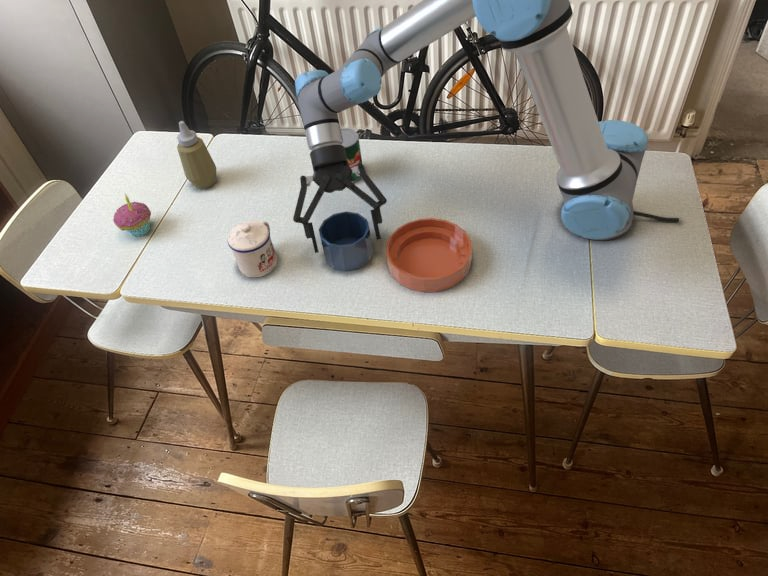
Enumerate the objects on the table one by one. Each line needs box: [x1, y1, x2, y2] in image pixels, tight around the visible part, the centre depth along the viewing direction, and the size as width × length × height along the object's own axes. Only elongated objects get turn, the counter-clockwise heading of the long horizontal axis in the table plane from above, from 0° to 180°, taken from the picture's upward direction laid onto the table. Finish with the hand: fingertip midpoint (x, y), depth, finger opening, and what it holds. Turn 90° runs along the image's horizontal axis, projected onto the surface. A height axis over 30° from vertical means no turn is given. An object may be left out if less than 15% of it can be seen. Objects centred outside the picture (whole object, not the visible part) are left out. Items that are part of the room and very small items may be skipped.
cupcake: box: [112, 193, 152, 237], centre depth 136 cm, size 9×8×12 cm
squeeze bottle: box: [176, 120, 217, 190], centre depth 144 cm, size 8×8×18 cm
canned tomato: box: [341, 127, 363, 183], centre depth 144 cm, size 8×8×11 cm
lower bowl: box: [385, 217, 473, 293], centre depth 124 cm, size 18×18×4 cm
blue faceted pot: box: [318, 210, 374, 272], centre depth 126 cm, size 11×11×8 cm
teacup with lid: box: [227, 220, 278, 278], centre depth 126 cm, size 12×9×12 cm
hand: (348, 246), depth 124 cm, fingers open, 13 cm apart
